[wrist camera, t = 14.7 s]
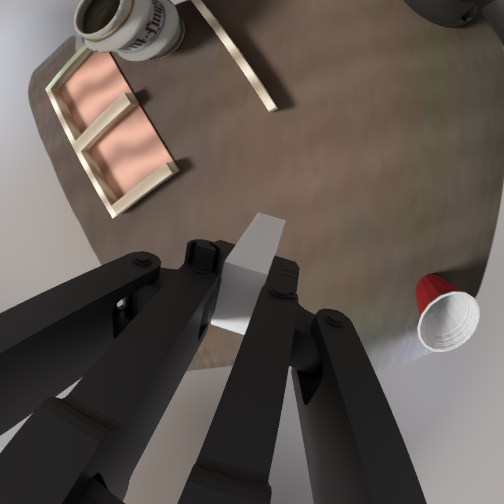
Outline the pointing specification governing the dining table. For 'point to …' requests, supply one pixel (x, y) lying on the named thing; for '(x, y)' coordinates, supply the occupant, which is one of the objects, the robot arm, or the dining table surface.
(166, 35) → the apothecary jar
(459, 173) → the dining table surface
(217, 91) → the dining table surface
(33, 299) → the robot arm
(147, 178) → the trap box
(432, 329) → the plastic cup
